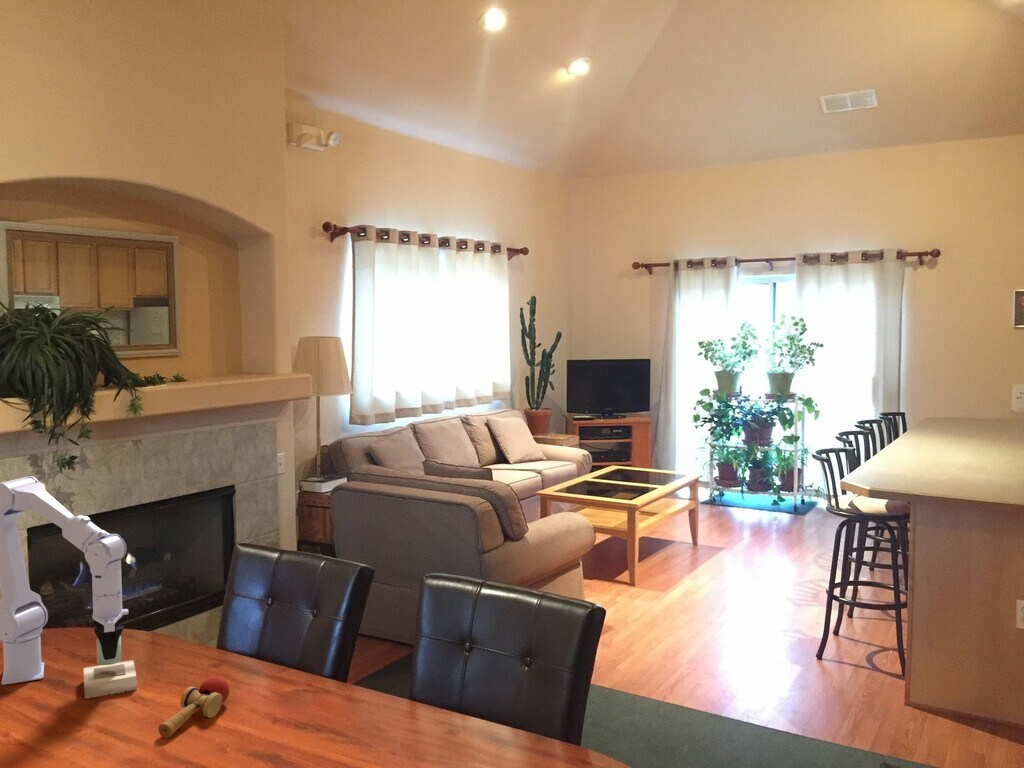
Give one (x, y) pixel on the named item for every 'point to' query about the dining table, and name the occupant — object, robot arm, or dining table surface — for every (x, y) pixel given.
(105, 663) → the pale green rounded cylinder
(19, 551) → the robot arm
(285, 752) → the dining table surface
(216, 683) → the kendama
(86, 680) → the birch base
